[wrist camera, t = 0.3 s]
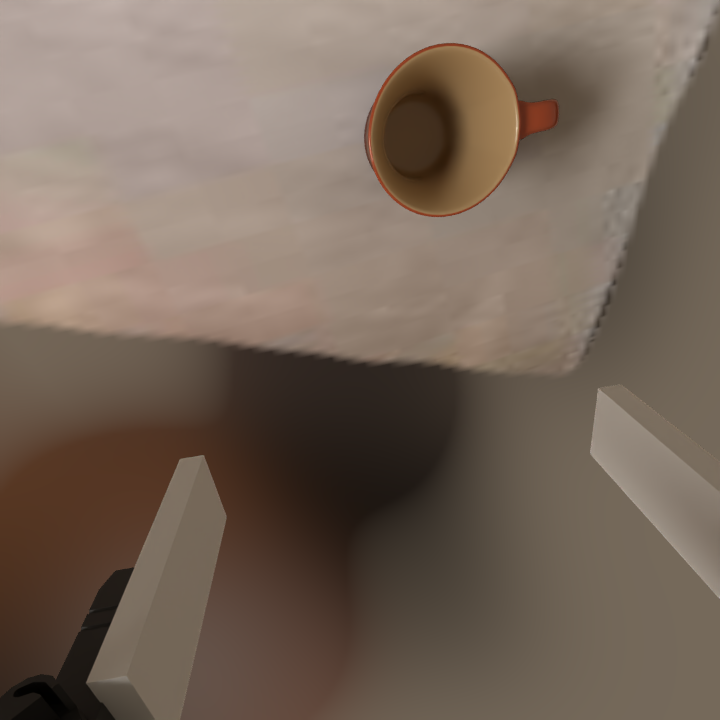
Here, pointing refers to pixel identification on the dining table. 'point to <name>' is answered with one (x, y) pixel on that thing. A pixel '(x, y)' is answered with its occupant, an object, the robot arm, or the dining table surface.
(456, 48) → the mug
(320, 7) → the dining table surface
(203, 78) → the dining table surface
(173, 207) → the dining table surface
